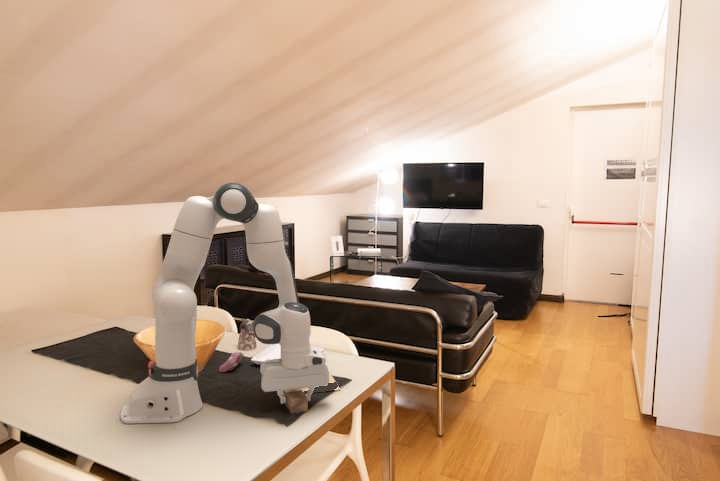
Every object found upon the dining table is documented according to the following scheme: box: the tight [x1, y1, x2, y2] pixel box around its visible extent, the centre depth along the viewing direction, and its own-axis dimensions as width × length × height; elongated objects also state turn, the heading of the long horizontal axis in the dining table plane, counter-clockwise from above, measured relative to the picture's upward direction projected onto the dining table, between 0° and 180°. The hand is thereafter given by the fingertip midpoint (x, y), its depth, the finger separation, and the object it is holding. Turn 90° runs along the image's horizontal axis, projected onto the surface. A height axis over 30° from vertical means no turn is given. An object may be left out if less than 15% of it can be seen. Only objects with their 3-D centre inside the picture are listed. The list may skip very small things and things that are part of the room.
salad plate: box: [250, 344, 325, 366], centre depth 194 cm, size 21×21×3 cm
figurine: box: [237, 317, 257, 352], centre depth 206 cm, size 7×7×12 cm
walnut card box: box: [283, 389, 309, 414], centre depth 155 cm, size 5×8×5 cm, turn 25°
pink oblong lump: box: [218, 350, 244, 373], centre depth 185 cm, size 10×5×7 cm, turn 169°
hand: (295, 401), depth 156 cm, fingers open, 6 cm apart
